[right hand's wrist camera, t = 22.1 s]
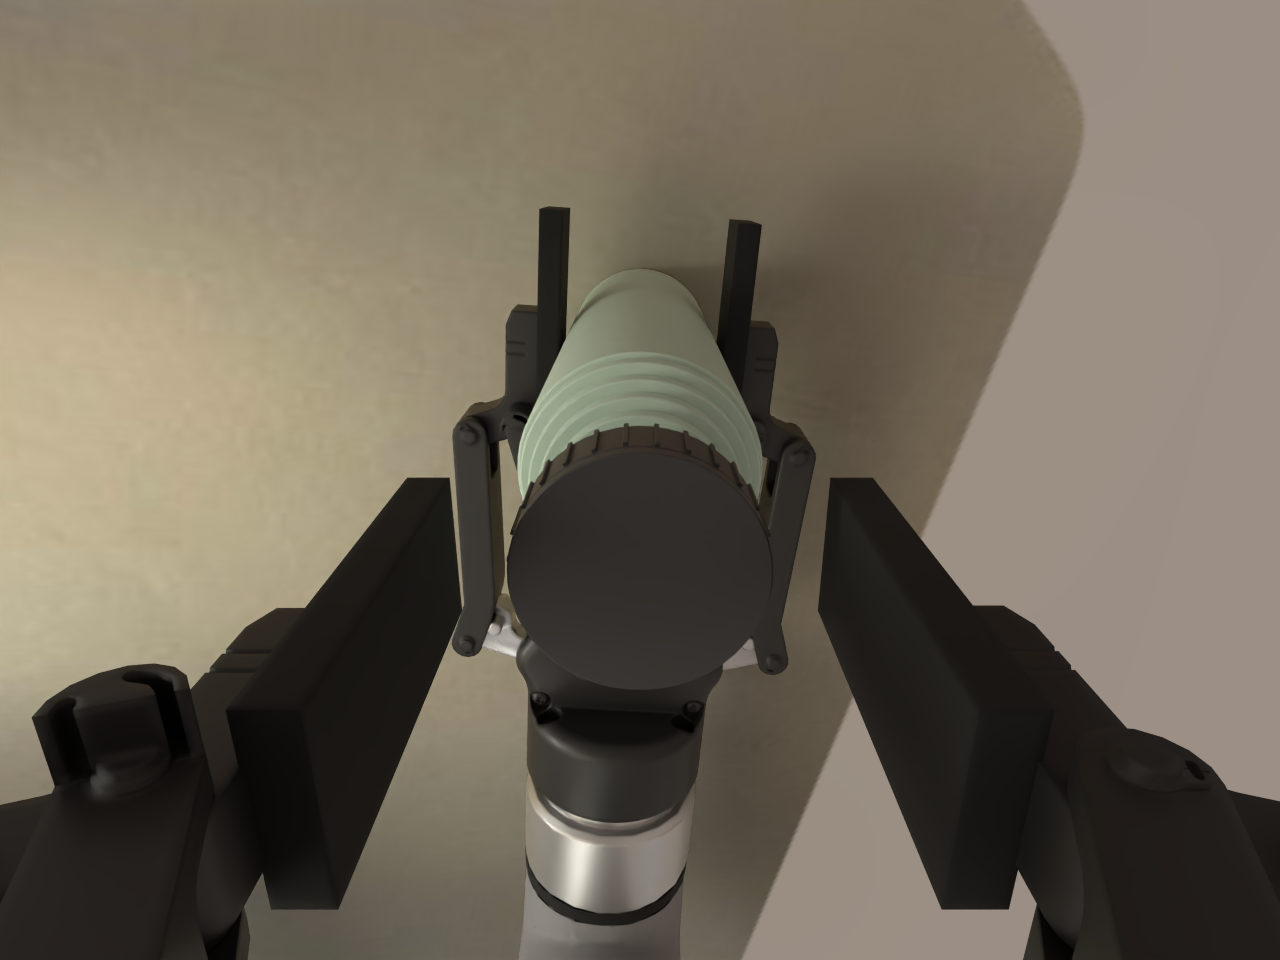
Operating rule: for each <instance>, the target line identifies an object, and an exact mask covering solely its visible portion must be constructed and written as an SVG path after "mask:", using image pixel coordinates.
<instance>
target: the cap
mask: <svg viewBox="0 0 1280 960" xmlns="http://www.w3.org/2000/svg"><path fill="white" fill-rule="evenodd" d="M510 534H511V535H513V537H512V540H511V544H510V548H509V552H508V556H507V581H508V588H509V593H510V598H511V601H512V604H513V607H514V610H515V613H516V615H517V617H518V619H519V621H520V623H521V625H522V627H523V628H524V630H525V631H526V632H527V634H528V635H529V637H530V638H531V640H532V641H533V642H534V643H535V644H536V645H537V646H538V647H539V649H540V650H541V651H542V652H543V653H544V654H546V655H547V656H548V657H549V658H550V659H552V660H553V661H554V662H555V663H557V664H558V665H560V666H561V667H563V668H564V669H566V670H567V671H569V672H571V673H573V674H575V675H577V676H579V677H581V678H583V679H586V680H589V681H592V682H595V683H597V684H601V685H605V686H610V687H614V688H622V689H632V690H648V689H659V688H666V687H670V686H675V685H679V684H682V683H685V682H688V681H692V680H694V679H697V678H699V677H701V676H703V675H705V674H707V673H709V672H711V671H713V670H714V669H716V668H717V667H719V666H721V665H722V664H724V663H725V662H726V661H727V660H729V659H730V658H731V657H732V656H734V655H735V654H736V653H737V652H738V651H739V650H740V649H741V648H742V647H743V646H744V645H745V644H746V642H747V641H748V640H749V638H750V637H751V636H752V634H753V633H754V632H755V630H756V628H757V627H758V625H759V623H760V621H761V619H762V618H763V615H764V613H765V610H766V608H767V605H768V603H769V598H770V594H771V590H772V583H773V557H772V552H771V547H770V543H769V539H768V537H771V535H770V532H769V529H768V526H767V524H766V521H765V518H764V516H763V513H762V510H761V508H760V506H759V504H758V501H757V498H756V496H755V493H754V490H753V487H752V485H751V483H749V484H746V482H745V480H744V479H743V477H742V476H741V475H740V473H739V471H738V468H737V465H736V463H735V462H734V461H733V462H731V463H730V462H729V461H728V460H727V459H726V458H725V457H724V456H723V455H721V454H720V453H719V452H718V451H716V449H715V445H714V444H712V443H710V444H709V445H707V444H706V443H704V442H702V441H700V440H699V439H697V438H694V437H692V436H689V433H688V431H686V430H684V431H683V433H682V432H678V431H674V430H671V429H667V428H660V427H659V424H654V427H653V426H629V423H624V427H619V428H614V429H610V430H606V431H601V432H600V431H599V429H597V430H595V431H594V434H593V435H591V436H588V437H586V438H584V439H582V440H580V441H578V442H576V443H574V444H573V443H572V441H571V442H570V443H568V445H567V449H565V450H564V451H563V452H561V453H560V454H558V455H557V456H556V457H555V458H554V459H553V460H552V461H550V460H549V459H548V460H547V461H546V463H545V466H544V469H543V471H542V472H541V474H540V475H539V476H538V477H537V479H536V481H535V482H532V481H531V482H530V484H529V486H528V489H527V492H526V495H525V497H524V500H523V503H522V505H521V506H520V508H519V510H518V513H517V516H516V518H515V521H514V524H513V527H512V529H511V533H510Z"/></svg>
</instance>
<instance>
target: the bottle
mask: <svg viewBox="0 0 1280 960" xmlns="http://www.w3.org/2000/svg"><path fill="white" fill-rule="evenodd" d="M624 423H629V426H653V427H654V424H659V427H660V428H667V429H671V430H674V431H678V432H682V433H683V431H684V430H686V431H688V433H689V436H692V437H694V438H697V439H699V440H700V441H702V442H704V443H706V444H707V445H709V444H710V443H712V444H714V445H715V449H716V451H718V452H719V453H720V454H721V455H723V456H724V457H725V458H726V459H727V460H728V461H729V462H730V463H731V462H733V461H734V462H735V463H736V465H737V468H738V471H739V473H740V475H741V476H742V477H743V479H744V480H745V482H746V484H749V483H751V485H752V487H753V490H754V493H755V496H756V498H757V499H758V495H759V492H760V488H761V481H762V473H763V463H762V451H761V445H760V440H759V437H758V433H757V430H756V427H755V425H754V423H753V421H752V418H751V416H750V414H749V412H748V410H747V408H746V405H745V403H744V401H743V399H742V397H741V395H740V393H739V391H738V389H737V386H736V384H735V382H734V380H733V378H732V376H731V374H730V372H729V369H728V367H727V365H726V363H725V361H724V359H723V357H722V355H721V352H720V350H719V348H718V346H717V344H716V342H715V340H714V338H713V335H712V333H711V331H710V329H709V327H708V325H707V323H706V321H705V318H704V316H703V314H702V312H701V310H700V308H699V306H698V304H697V302H696V300H695V299H694V297H693V296H692V294H691V293H690V292H689V291H688V290H687V288H685V287H684V286H683V285H682V284H681V283H680V282H678V281H677V280H675V279H674V278H672V277H670V276H668V275H666V274H664V273H661V272H658V271H654V270H649V269H631V270H626V271H622V272H619V273H616V274H614V275H612V276H610V277H608V278H606V279H604V280H603V281H602V282H600V283H599V284H598V285H597V286H596V287H595V288H593V289H592V291H591V292H590V293H589V294H588V295H587V297H586V299H585V300H584V302H583V303H582V306H581V308H580V310H579V312H578V314H577V316H576V318H575V320H574V323H573V325H572V327H571V329H570V331H569V333H568V335H567V338H566V340H565V342H564V344H563V346H562V348H561V350H560V352H559V355H558V357H557V359H556V361H555V363H554V365H553V367H552V369H551V372H550V374H549V376H548V378H547V380H546V382H545V384H544V387H543V389H542V391H541V393H540V395H539V397H538V399H537V401H536V404H535V406H534V408H533V410H532V412H531V414H530V416H529V419H528V421H527V423H526V425H525V427H524V430H523V434H522V437H521V441H520V445H519V452H518V480H519V488H520V491H521V495H522V499H523V500H524V497H525V495H526V492H527V489H528V486H529V484H530V482H531V481H532V482H535V481H536V479H537V477H538V476H539V475H540V474H541V472H542V471H543V469H544V466H545V463H546V461H547V460H548V459H549V460H550V461H552V460H553V459H554V458H555V457H556V456H557V455H558V454H560V453H561V452H563V451H564V450H565V449H567V445H568V443H570V442H571V441H572V443H573V444H574V443H576V442H578V441H580V440H582V439H584V438H586V437H588V436H591V435H593V434H594V431H595V430H597V429H599V431H600V432H601V431H606V430H610V429H614V428H619V427H624Z"/></svg>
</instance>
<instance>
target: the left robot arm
mask: <svg viewBox="0 0 1280 960" xmlns="http://www.w3.org/2000/svg"><path fill="white" fill-rule="evenodd" d="M569 226H570V208H564V207H550V206H548V207H545V208H541V209H539V258H538V306H533V305H519V304H518V305H517V306H516V307H515V308H514V309H513V310H512V311H511V313H510V316H509V318H508V321H507V323H506V373H505V396H503V397H502V398H500V399H497V400H494V401H490V402H487V403H483V402H479V403H475V404H473V405H472V406H470V408H469V409H468V410H467V411H466V413H465V414H464V415H463V417H462V418H461V419H460V421H459V422H458V423H457V425H456V426H455V428H454V430H453V450H454V465H455V479H456V493H457V507H458V522H459V536H460V550H461V564H462V578H463V593H464V607H463V610H462V613H461V616H460V619H459V621H458V624H457V627H456V630H455V633H454V636H453V639H452V646H453V649H454V650H455V651H456V652H457V653H458V654H460V655H462V656H466V657H470V656H475V655H476V654H478V653H479V652H480V650H481V649H482V647H483V648H486V649H489V650H492V651H495V652H498V653H502V654H505V655H508V656H511V657H514V658H516V663H517V666H518V669H519V671H520V672H521V674H522V675H523V677H524V679H525V681H526V683H527V687H528V732H527V766H528V770H529V771H528V775H527V780H526V882H525V900H524V918H523V929H522V938H521V946H520V952H519V959H518V960H680V919H681V906H682V893H683V881H684V873H685V868H686V860H687V856H688V852H689V844H690V835H691V827H692V818H693V809H694V801H695V787H696V783H695V780H696V777H697V772H698V765H699V757H700V749H701V740H702V732H703V723H704V715H705V706H706V700H707V697H708V695H709V693H710V691H711V690H712V688H713V687H714V686H715V685H716V683H717V682H718V681H719V679H720V677H721V675H722V671H723V670H728V669H733V668H738V667H743V666H748V665H753V664H758V665H759V668H760V670H761V671H763V672H764V673H766V674H769V675H776V674H779V673H781V672H782V671H784V670H785V669H786V667H787V665H788V656H787V651H786V646H785V641H784V636H783V631H782V626H781V622H782V617H783V612H784V608H785V603H786V598H787V593H788V589H789V584H790V579H791V574H792V570H793V565H794V560H795V555H796V550H797V546H798V541H799V536H800V531H801V527H802V522H803V517H804V512H805V508H806V503H807V498H808V493H809V489H810V484H811V479H812V474H813V470H814V465H815V460H816V453H815V451H814V449H813V447H812V446H811V444H810V442H809V441H808V439H807V438H806V436H805V435H804V433H803V432H802V430H801V429H800V428H799V427H798V426H797V425H796V424H793V423H785V422H783V421H781V420H779V419H776V418H774V417H773V416H771V415H770V403H771V396H772V388H773V381H774V371H775V365H776V358H777V350H778V340H777V336H776V332H775V329H774V328H773V326H772V325H771V324H770V323H769V322H764V321H750V320H751V312H752V303H753V295H754V286H755V278H756V269H757V261H758V253H759V244H760V236H761V227H762V225H761V224H758V223H755V222H752V221H746V220H732V219H729V229H728V239H727V248H726V258H725V267H724V277H723V287H722V296H721V306H720V315H719V325H718V335H717V346H718V348H719V350H720V352H721V355H722V357H723V359H724V361H725V363H726V365H727V367H728V369H729V372H730V374H731V376H732V378H733V380H734V382H735V384H736V386H737V389H738V391H739V393H740V395H741V397H742V399H743V401H744V403H745V405H746V408H747V410H748V412H749V414H750V416H751V418H752V421H753V423H754V425H755V427H756V430H757V433H758V437H759V440H760V445H761V451H762V456H763V457H766V458H768V460H767V465H766V471H765V476H764V482H763V487H762V492H761V498H760V503H759V506H760V508H761V510H762V513H763V516H764V518H765V521H766V524H767V526H768V529H769V532H770V535H771V537H768V539H769V543H770V547H771V552H772V557H773V583H772V590H771V594H770V598H769V603H768V605H767V608H766V610H765V613H764V615H763V618H762V619H761V621H760V623H759V625H758V627H757V628H756V630H755V632H754V633H753V634H752V636H751V637H750V638H749V640H748V641H747V642H746V644H745V645H744V646H743V647H742V648H741V649H740V650H739V651H738V652H737V653H736V654H735V655H734V656H732V657H731V658H730V659H729V660H727V661H726V662H725V663H724V664H722V665H721V666H719V667H717V668H716V669H714V670H713V671H711V672H709V673H707V674H705V675H703V676H701V677H699V678H697V679H694V680H692V681H688V682H685V683H682V684H679V685H675V686H670V687H666V688H659V689H648V690H632V689H622V688H614V687H610V686H605V685H601V684H597V683H595V682H592V681H589V680H586V679H583V678H581V677H579V676H577V675H575V674H573V673H571V672H569V671H567V670H566V669H564V668H563V667H561V666H560V665H558V664H557V663H555V662H554V661H553V660H552V659H550V658H549V657H548V656H547V655H546V654H544V653H543V652H542V651H541V650H540V649H539V647H538V646H537V645H536V644H535V643H534V642H533V641H532V640H531V638H530V637H529V635H528V634H527V632H526V631H525V630H524V628H523V627H522V625H521V624H520V623H519V622H518V621H517V620H516V617H515V610H514V607H513V604H512V601H511V599H510V597H509V596H508V595H507V594H501V591H502V587H503V583H504V576H505V558H504V538H503V517H502V496H501V475H500V454H499V441H502V440H505V439H508V442H509V445H510V449H511V452H512V455H513V459H514V462H515V465H516V469H517V472H518V452H519V445H520V441H521V437H522V434H523V430H524V427H525V425H526V423H527V421H528V419H529V416H530V414H531V412H532V410H533V408H534V406H535V404H536V401H537V399H538V397H539V395H540V393H541V391H542V389H543V387H544V384H545V382H546V380H547V378H548V376H549V374H550V372H551V369H552V367H553V365H554V363H555V361H556V359H557V357H558V355H559V352H560V350H561V348H562V346H563V344H564V342H565V340H566V316H567V286H568V256H569Z"/></svg>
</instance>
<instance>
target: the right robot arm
mask: <svg viewBox="0 0 1280 960" xmlns="http://www.w3.org/2000/svg"><path fill="white" fill-rule="evenodd" d="M461 612H462V606H461V595H460V584H459V574H458V563H457V552H456V542H455V531H454V520H453V510H452V499H451V488H450V478H407V479H406V480H405V481H404V483H403V484H402V485H401V486H400V488H399V489H398V490H397V491H396V493H395V494H394V495H393V497H392V498H391V499H390V500H389V502H388V503H387V504H386V506H385V507H384V508H383V509H382V511H381V512H380V513H379V514H378V516H377V517H376V518H375V520H374V521H373V522H372V523H371V525H370V526H369V527H368V528H367V530H366V531H365V532H364V534H363V535H362V536H361V537H360V539H359V540H358V541H357V543H356V544H355V545H354V546H353V548H352V549H351V550H350V551H349V553H348V554H347V555H346V557H345V558H344V559H343V560H342V562H341V563H340V564H339V565H338V567H337V568H336V569H335V571H334V572H333V573H332V574H331V576H330V577H329V578H328V580H327V581H326V582H325V583H324V585H323V586H322V587H321V588H320V590H319V591H318V592H317V594H316V595H315V596H314V597H313V599H312V600H311V601H310V602H309V604H308V605H307V606H306V608H276V609H275V610H273V611H271V612H270V613H268V614H267V615H265V616H263V617H262V618H260V619H258V620H257V621H255V622H253V623H252V624H250V625H249V626H247V627H246V628H245V629H244V630H243V631H242V632H241V633H240V634H239V635H238V637H237V638H236V639H235V640H234V641H233V642H232V643H231V645H230V646H229V647H228V648H227V649H226V654H222V655H221V656H220V657H219V658H218V659H217V660H216V662H215V663H214V664H213V665H212V666H211V667H210V672H209V673H205V674H204V675H203V676H202V677H201V679H200V680H199V681H198V682H197V683H196V684H195V685H194V686H193V688H192V689H191V690H190V687H189V683H188V679H187V675H185V674H184V673H182V672H181V671H180V670H178V669H177V668H175V667H172V666H166V665H160V664H143V665H131V666H125V667H121V668H117V669H113V670H109V671H105V672H102V673H98V674H96V675H93V676H91V677H89V678H86V679H84V680H82V681H79V682H77V683H75V684H72V685H70V686H69V687H67V688H65V689H64V690H62V691H61V692H59V693H58V694H56V695H55V696H53V697H52V698H50V699H49V700H47V701H46V702H45V703H44V704H43V705H42V707H41V708H40V709H39V710H38V711H37V712H36V713H35V714H34V715H33V717H32V720H33V723H34V726H35V729H36V732H37V735H38V738H39V740H40V743H41V746H42V749H43V752H44V755H45V758H46V761H47V764H48V767H49V770H50V773H51V776H52V779H53V782H54V785H55V788H54V790H53V792H52V794H48V795H44V796H40V797H35V798H31V799H26V800H21V801H17V802H12V803H7V804H3V805H0V960H248V951H249V942H250V935H249V928H248V922H247V918H246V914H245V910H244V905H245V903H246V902H247V900H248V898H249V896H250V894H251V892H252V891H253V889H254V887H255V885H256V883H257V881H258V880H259V878H260V876H261V874H262V872H263V876H264V880H265V885H266V889H267V893H268V898H269V902H270V906H271V909H339V906H340V904H341V902H342V899H343V897H344V894H345V892H346V889H347V887H348V885H349V882H350V880H351V877H352V875H353V873H354V870H355V868H356V865H357V863H358V860H359V858H360V856H361V853H362V851H363V848H364V846H365V844H366V841H367V839H368V836H369V834H370V831H371V829H372V827H373V824H374V822H375V819H376V817H377V815H378V812H379V810H380V807H381V805H382V803H383V800H384V798H385V795H386V793H387V790H388V788H389V786H390V783H391V781H392V778H393V776H394V774H395V771H396V769H397V766H398V764H399V761H400V759H401V757H402V754H403V752H404V749H405V747H406V745H407V742H408V740H409V737H410V735H411V733H412V730H413V728H414V725H415V723H416V720H417V718H418V716H419V713H420V711H421V708H422V706H423V704H424V701H425V699H426V696H427V694H428V691H429V689H430V687H431V684H432V682H433V679H434V677H435V675H436V672H437V670H438V667H439V665H440V662H441V660H442V658H443V655H444V653H445V650H446V648H447V646H448V643H449V641H450V638H451V636H452V634H453V631H454V629H455V626H456V624H457V621H458V619H459V617H460V614H461ZM818 612H819V614H820V617H821V619H822V621H823V624H824V626H825V629H826V631H827V634H828V636H829V638H830V641H831V643H832V646H833V648H834V650H835V653H836V655H837V658H838V660H839V662H840V665H841V667H842V670H843V672H844V675H845V677H846V679H847V682H848V684H849V687H850V689H851V691H852V694H853V696H854V699H855V701H856V703H857V706H858V708H859V711H860V713H861V716H862V718H863V720H864V723H865V725H866V728H867V730H868V732H869V735H870V737H871V740H872V742H873V745H874V747H875V749H876V752H877V754H878V757H879V759H880V761H881V764H882V766H883V769H884V771H885V774H886V776H887V778H888V781H889V783H890V786H891V788H892V790H893V793H894V795H895V798H896V800H897V802H898V805H899V807H900V810H901V812H902V815H903V817H904V819H905V822H906V824H907V827H908V829H909V831H910V834H911V836H912V839H913V841H914V843H915V846H916V848H917V851H918V853H919V855H920V858H921V860H922V863H923V865H924V868H925V870H926V873H927V875H928V877H929V880H930V882H931V885H932V887H933V889H934V892H935V894H936V897H937V899H938V901H939V904H940V906H941V909H1009V906H1010V902H1011V898H1012V893H1013V889H1014V884H1015V880H1016V876H1017V872H1018V870H1019V872H1020V874H1021V876H1022V877H1023V879H1024V881H1025V883H1026V885H1027V887H1028V888H1029V890H1030V892H1031V894H1032V896H1033V897H1034V899H1035V901H1036V903H1037V906H1036V910H1035V914H1034V918H1033V922H1032V926H1031V930H1030V934H1029V938H1028V942H1027V946H1026V950H1025V954H1024V958H1023V960H1280V801H1275V800H1271V799H1266V798H1261V797H1256V796H1251V795H1247V794H1242V793H1238V792H1234V791H1230V790H1227V788H1226V786H1225V784H1224V783H1223V782H1222V781H1221V779H1220V778H1219V777H1218V775H1217V774H1216V773H1215V771H1214V770H1213V769H1212V767H1210V766H1209V765H1208V764H1206V763H1205V762H1204V761H1202V760H1201V759H1200V758H1198V757H1197V756H1196V755H1195V754H1193V753H1192V752H1190V751H1189V750H1187V749H1185V748H1183V747H1181V746H1179V745H1177V744H1175V743H1173V742H1171V741H1169V740H1167V739H1165V738H1163V737H1160V736H1156V735H1153V734H1149V733H1146V732H1142V731H1139V730H1136V729H1127V728H1126V727H1125V726H1124V724H1123V723H1122V722H1121V721H1120V720H1119V719H1118V718H1117V717H1116V715H1115V714H1114V713H1113V712H1112V711H1111V710H1110V709H1109V708H1108V706H1107V705H1106V704H1105V703H1104V702H1103V701H1102V700H1101V699H1100V697H1099V696H1098V695H1097V694H1096V693H1095V692H1094V691H1093V690H1092V688H1091V687H1090V686H1089V685H1088V684H1087V683H1086V682H1085V681H1084V679H1083V678H1082V677H1081V676H1080V675H1079V674H1078V673H1077V672H1076V671H1075V670H1071V665H1070V664H1069V663H1068V661H1067V660H1066V659H1065V658H1064V657H1063V656H1062V655H1061V654H1060V652H1059V651H1055V650H1054V646H1053V645H1052V643H1051V642H1050V641H1049V640H1048V639H1047V638H1046V637H1045V636H1044V634H1043V633H1042V632H1041V631H1040V630H1039V629H1038V628H1037V627H1036V626H1035V624H1033V623H1031V622H1030V621H1028V620H1026V619H1025V618H1023V617H1021V616H1020V615H1018V614H1016V613H1015V612H1013V611H1012V610H1010V609H1008V608H1007V607H1005V606H973V605H972V604H971V603H970V601H969V600H968V599H967V597H966V596H965V595H964V594H963V592H962V591H961V590H960V588H959V587H958V586H957V585H956V583H955V582H954V581H953V580H952V578H951V577H950V576H949V574H948V573H947V572H946V571H945V569H944V568H943V567H942V565H941V564H940V563H939V562H938V560H937V559H936V558H935V557H934V555H933V554H932V553H931V551H930V550H929V549H928V548H927V546H926V545H925V544H924V543H923V541H922V540H921V539H920V537H919V536H918V535H917V534H916V532H915V531H914V530H913V528H912V527H911V526H910V525H909V523H908V522H907V521H906V520H905V518H904V517H903V516H902V514H901V513H900V512H899V511H898V509H897V508H896V507H895V506H894V504H893V503H892V502H891V500H890V499H889V498H888V497H887V495H886V494H885V493H884V492H883V490H882V489H881V488H880V486H879V485H878V484H877V483H876V481H875V480H874V479H873V478H830V488H829V499H828V510H827V520H826V531H825V542H824V552H823V563H822V574H821V584H820V595H819V606H818Z"/></svg>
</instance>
